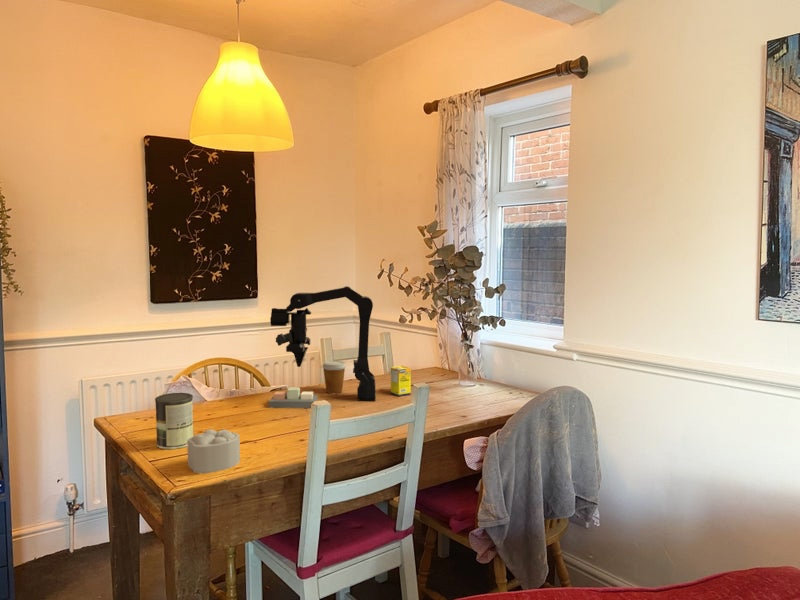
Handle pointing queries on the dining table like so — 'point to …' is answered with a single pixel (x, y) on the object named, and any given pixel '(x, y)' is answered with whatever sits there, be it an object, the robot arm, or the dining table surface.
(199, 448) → the lumpy-topped squat cylinder
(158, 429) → the coffee can
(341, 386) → the disposable coffee cup
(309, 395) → the cream white cube
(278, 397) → the pink cube
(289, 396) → the key mid
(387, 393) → the dining table surface
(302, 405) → the keypad base
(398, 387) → the supplement box
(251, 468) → the dining table surface
